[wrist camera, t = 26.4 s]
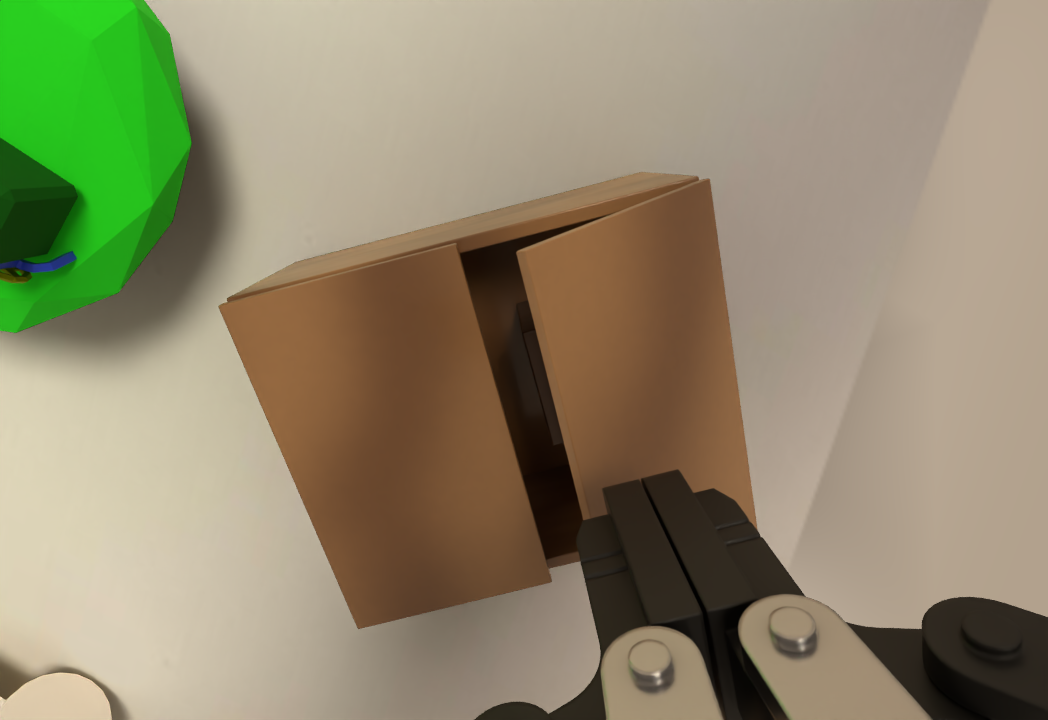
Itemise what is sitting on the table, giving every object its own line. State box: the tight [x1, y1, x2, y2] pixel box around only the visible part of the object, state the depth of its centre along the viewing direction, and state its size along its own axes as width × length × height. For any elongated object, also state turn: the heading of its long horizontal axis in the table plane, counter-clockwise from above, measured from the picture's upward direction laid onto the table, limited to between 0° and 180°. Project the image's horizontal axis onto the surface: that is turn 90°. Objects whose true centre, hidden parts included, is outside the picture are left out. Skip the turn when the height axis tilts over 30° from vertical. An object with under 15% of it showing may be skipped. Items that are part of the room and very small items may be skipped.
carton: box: [219, 172, 699, 629], centre depth 20 cm, size 13×11×7 cm
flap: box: [516, 179, 757, 529], centre depth 15 cm, size 6×11×1 cm
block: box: [516, 300, 564, 446], centre depth 20 cm, size 4×4×4 cm
